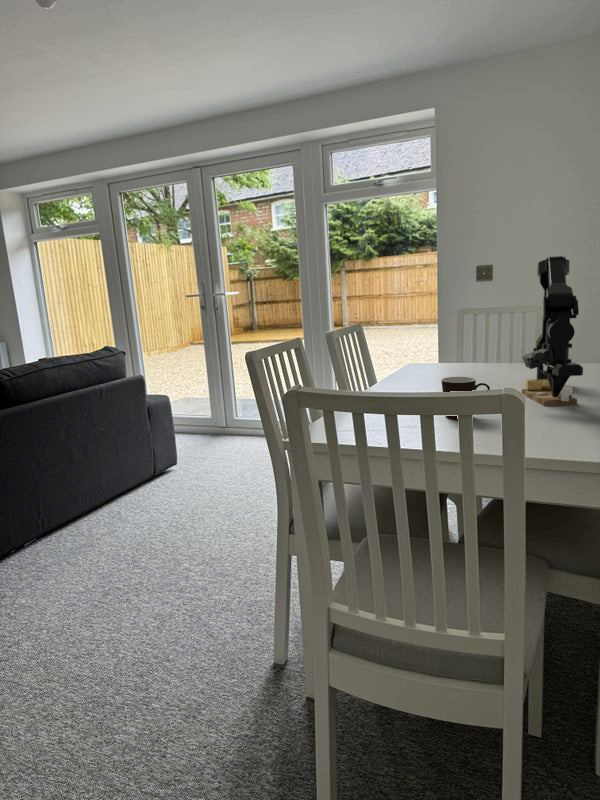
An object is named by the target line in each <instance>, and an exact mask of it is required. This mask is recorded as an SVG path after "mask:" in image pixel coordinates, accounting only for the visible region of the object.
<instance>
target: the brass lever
mask: <svg viewBox="0 0 600 800" xmlns="http://www.w3.org/2000/svg"><path fill="white" fill-rule="evenodd" d="M524 389H527V390H539V389H543V390H551V389H550V385H549V382H548V379H537V378H535V379H534V378H532V379H525V387H524Z"/></svg>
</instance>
